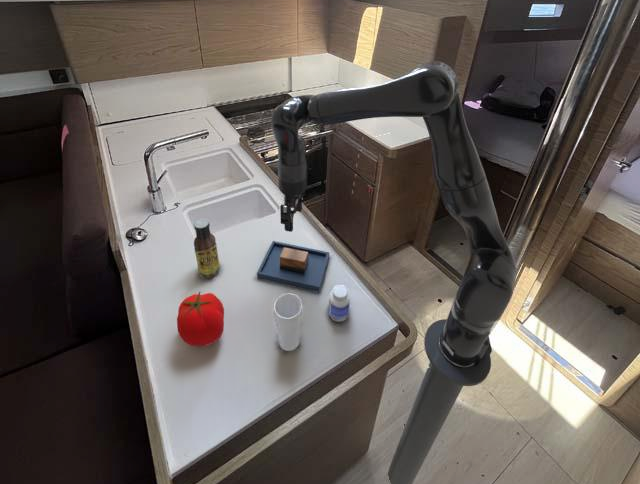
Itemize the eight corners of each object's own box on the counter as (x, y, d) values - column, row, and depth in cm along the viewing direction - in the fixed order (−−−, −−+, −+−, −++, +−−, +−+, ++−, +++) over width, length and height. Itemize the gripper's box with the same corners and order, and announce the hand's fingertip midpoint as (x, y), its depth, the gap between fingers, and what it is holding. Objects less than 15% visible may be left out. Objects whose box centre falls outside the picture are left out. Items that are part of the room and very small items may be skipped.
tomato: (207, 366, 77) (198, 335, 70) (170, 342, 82) (158, 310, 75) (239, 324, 86) (233, 293, 79) (204, 305, 91) (196, 274, 84)
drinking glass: (273, 333, 84) (270, 297, 77) (298, 325, 86) (297, 289, 79) (279, 359, 79) (277, 323, 71) (306, 349, 81) (306, 313, 73)
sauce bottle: (202, 282, 97) (190, 234, 87) (197, 268, 101) (185, 220, 91) (223, 273, 100) (214, 226, 90) (217, 260, 104) (208, 213, 94)
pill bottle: (351, 318, 88) (354, 296, 83) (333, 325, 87) (335, 302, 82) (343, 301, 93) (345, 279, 88) (325, 307, 91) (327, 285, 86)
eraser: (308, 261, 104) (308, 250, 101) (304, 274, 99) (304, 263, 97) (284, 256, 105) (284, 245, 102) (279, 268, 101) (279, 257, 98)
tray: (329, 257, 106) (329, 252, 105) (319, 292, 95) (319, 287, 94) (273, 245, 110) (272, 240, 109) (257, 278, 99) (256, 272, 98)
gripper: (298, 192, 77) (299, 240, 86) (313, 161, 89) (312, 206, 98) (269, 186, 79) (272, 235, 87) (287, 157, 91) (289, 202, 99)
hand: (293, 220), depth 92 cm, fingers open, 8 cm apart
